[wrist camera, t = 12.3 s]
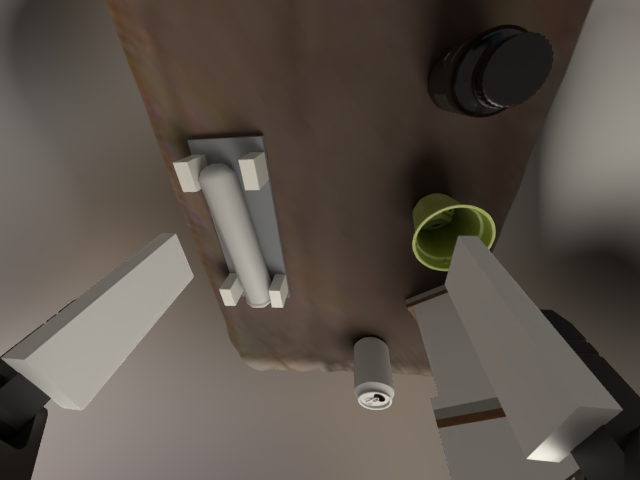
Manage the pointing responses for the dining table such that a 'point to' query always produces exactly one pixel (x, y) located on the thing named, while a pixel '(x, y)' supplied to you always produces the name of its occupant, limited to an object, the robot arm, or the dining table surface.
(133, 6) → the dining table surface
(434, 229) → the plant pot
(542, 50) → the supplement bottle
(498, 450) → the brown-trimmed grey box
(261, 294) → the tube
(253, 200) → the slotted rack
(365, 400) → the can
